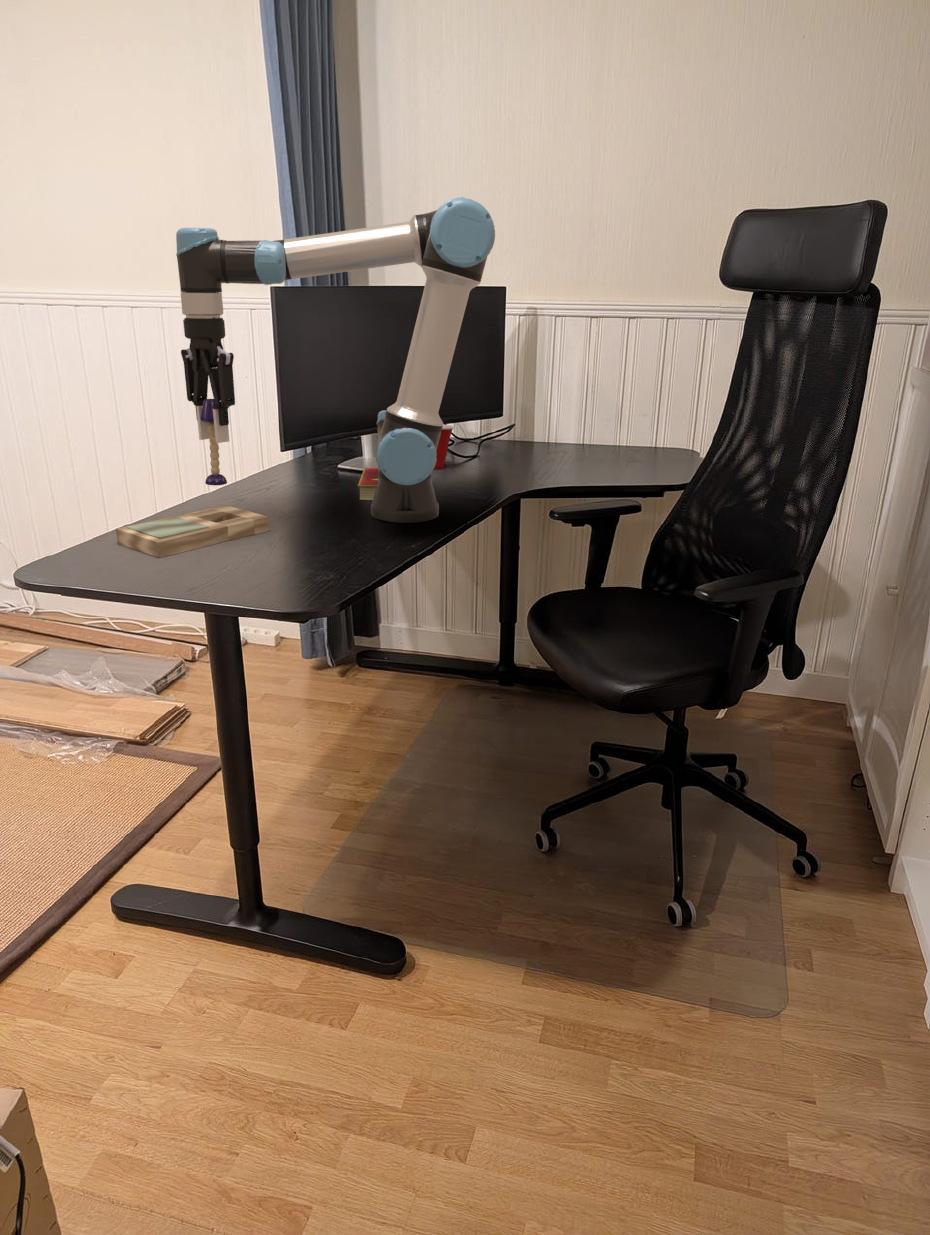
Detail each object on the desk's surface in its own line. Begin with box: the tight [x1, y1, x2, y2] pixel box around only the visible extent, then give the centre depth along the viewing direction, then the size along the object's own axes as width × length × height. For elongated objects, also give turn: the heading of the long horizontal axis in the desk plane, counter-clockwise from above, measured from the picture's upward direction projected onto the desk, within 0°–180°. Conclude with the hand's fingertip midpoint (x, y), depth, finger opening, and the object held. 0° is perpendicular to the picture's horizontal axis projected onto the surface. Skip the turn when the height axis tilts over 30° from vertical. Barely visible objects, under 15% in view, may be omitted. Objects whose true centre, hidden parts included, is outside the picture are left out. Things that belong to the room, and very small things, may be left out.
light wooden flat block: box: [115, 505, 270, 559], centre depth 180 cm, size 14×26×3 cm, turn 141°
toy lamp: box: [201, 398, 228, 486], centre depth 178 cm, size 5×5×17 cm
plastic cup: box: [433, 424, 455, 470], centre depth 248 cm, size 11×11×12 cm
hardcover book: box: [357, 467, 378, 501], centre depth 222 cm, size 12×21×4 cm, turn 2°
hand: (214, 440), depth 178 cm, fingers closed on toy lamp, 5 cm apart
